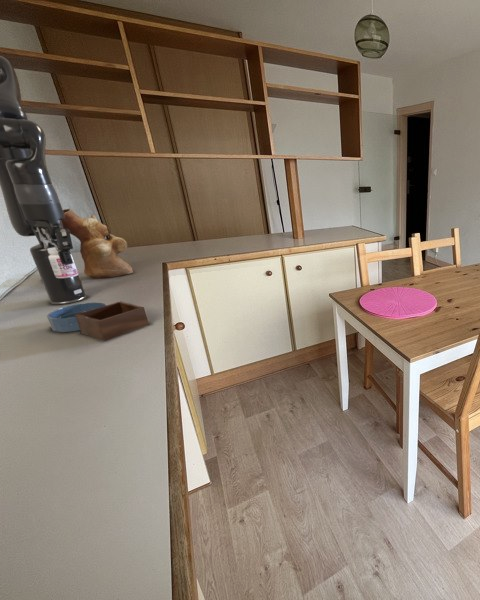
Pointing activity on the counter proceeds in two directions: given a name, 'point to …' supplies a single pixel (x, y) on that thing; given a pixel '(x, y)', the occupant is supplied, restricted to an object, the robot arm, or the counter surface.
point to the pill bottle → (61, 265)
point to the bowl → (69, 316)
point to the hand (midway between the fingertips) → (62, 262)
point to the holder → (112, 320)
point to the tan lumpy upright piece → (97, 246)
